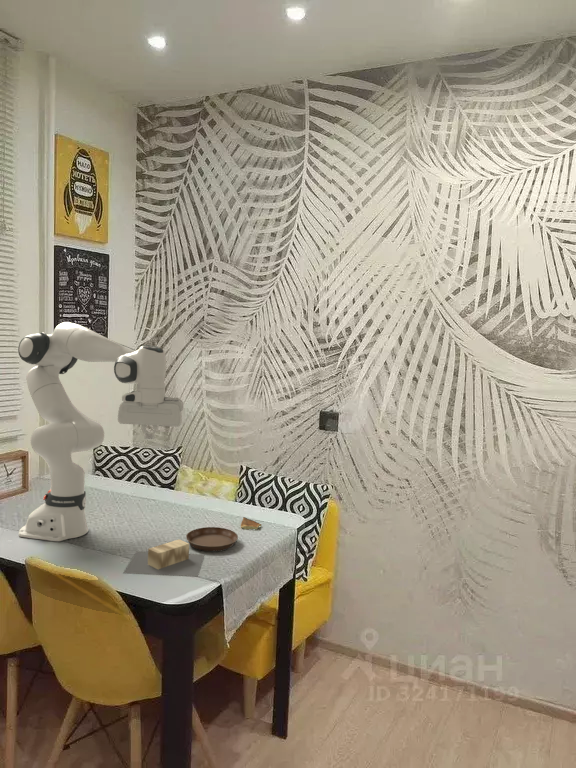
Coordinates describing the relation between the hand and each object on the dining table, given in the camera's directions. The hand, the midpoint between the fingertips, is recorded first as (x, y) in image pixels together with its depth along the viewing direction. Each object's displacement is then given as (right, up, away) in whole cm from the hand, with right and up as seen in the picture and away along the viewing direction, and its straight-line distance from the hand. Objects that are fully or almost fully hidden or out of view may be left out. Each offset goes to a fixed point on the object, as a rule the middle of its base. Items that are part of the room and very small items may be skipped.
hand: (149, 438), depth 195 cm
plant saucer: (+19, -38, +12) cm, 44 cm away
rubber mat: (+7, -39, -9) cm, 40 cm away
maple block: (+4, -35, -12) cm, 38 cm away
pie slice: (+29, -37, +32) cm, 57 cm away
